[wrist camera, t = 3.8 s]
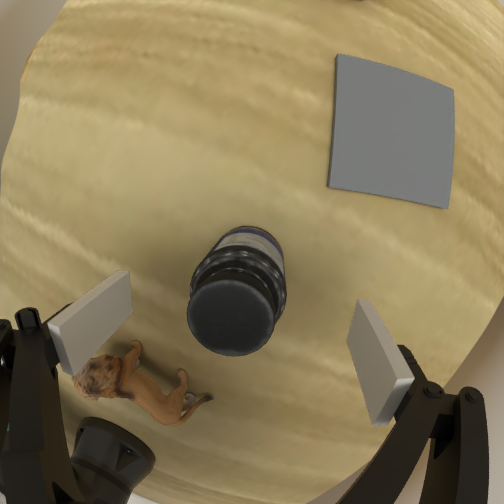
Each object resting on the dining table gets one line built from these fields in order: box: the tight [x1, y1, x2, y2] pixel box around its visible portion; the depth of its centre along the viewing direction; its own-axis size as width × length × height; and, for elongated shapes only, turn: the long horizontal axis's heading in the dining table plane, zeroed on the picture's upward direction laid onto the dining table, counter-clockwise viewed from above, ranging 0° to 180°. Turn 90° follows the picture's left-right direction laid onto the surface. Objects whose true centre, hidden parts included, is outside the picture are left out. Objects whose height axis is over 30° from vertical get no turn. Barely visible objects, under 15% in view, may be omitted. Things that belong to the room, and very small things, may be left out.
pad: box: [327, 54, 455, 209], centre depth 20 cm, size 12×12×1 cm
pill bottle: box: [187, 226, 287, 357], centre depth 19 cm, size 6×6×11 cm
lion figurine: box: [71, 340, 214, 426], centre depth 25 cm, size 15×5×9 cm, turn 63°
